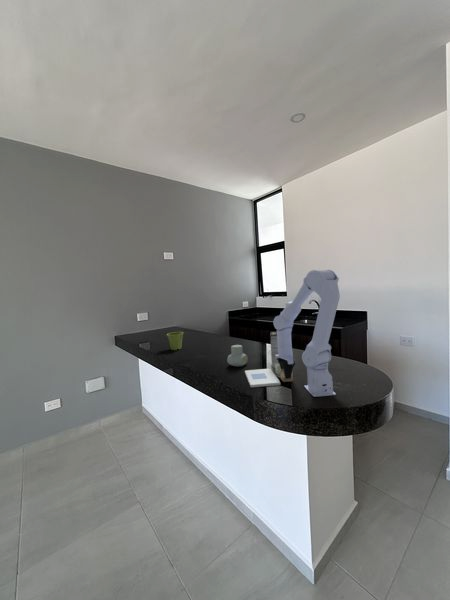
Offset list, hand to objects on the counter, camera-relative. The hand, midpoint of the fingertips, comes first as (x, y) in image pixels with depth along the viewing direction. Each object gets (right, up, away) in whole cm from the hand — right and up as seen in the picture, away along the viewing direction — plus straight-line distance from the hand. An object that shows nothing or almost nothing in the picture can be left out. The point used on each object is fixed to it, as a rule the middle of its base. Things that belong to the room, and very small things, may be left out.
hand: (286, 376), depth 105 cm
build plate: (-10, -2, +4) cm, 11 cm away
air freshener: (-19, -2, +25) cm, 32 cm away
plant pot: (-60, -3, +72) cm, 94 cm away
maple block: (0, -1, 0) cm, 1 cm away
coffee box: (+1, -1, +21) cm, 21 cm away
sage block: (0, -1, +9) cm, 9 cm away
